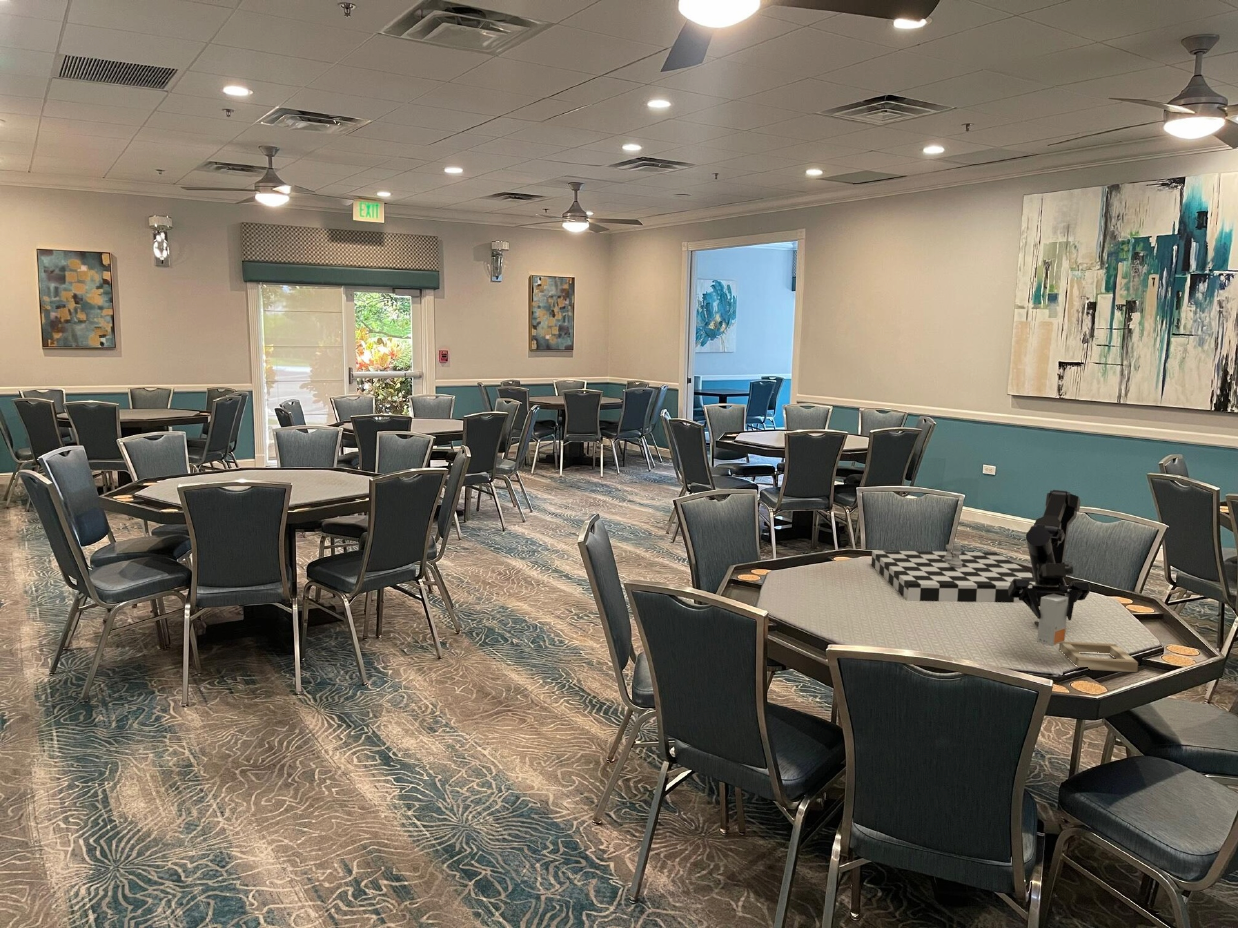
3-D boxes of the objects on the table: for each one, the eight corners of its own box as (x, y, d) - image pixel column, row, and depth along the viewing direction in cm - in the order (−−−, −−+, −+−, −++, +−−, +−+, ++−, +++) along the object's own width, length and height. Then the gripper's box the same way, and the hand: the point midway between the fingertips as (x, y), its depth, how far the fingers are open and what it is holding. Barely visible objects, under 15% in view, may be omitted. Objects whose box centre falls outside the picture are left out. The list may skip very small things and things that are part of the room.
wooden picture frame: (1058, 650, 242) (1059, 641, 242) (1114, 652, 240) (1115, 643, 240) (1078, 668, 228) (1079, 659, 228) (1137, 672, 226) (1138, 662, 226)
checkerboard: (1050, 604, 286) (1054, 558, 283) (907, 602, 286) (910, 556, 284) (995, 568, 330) (998, 528, 328) (871, 566, 331) (873, 527, 329)
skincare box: (1052, 646, 228) (1056, 600, 226) (1036, 642, 231) (1040, 596, 229) (1065, 642, 231) (1069, 596, 230) (1049, 637, 235) (1052, 593, 233)
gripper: (1014, 548, 233) (1024, 602, 224) (1091, 550, 230) (1104, 605, 221) (1003, 569, 242) (1013, 622, 233) (1077, 572, 239) (1089, 626, 230)
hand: (1054, 618), depth 229 cm, fingers closed on skincare box, 7 cm apart
